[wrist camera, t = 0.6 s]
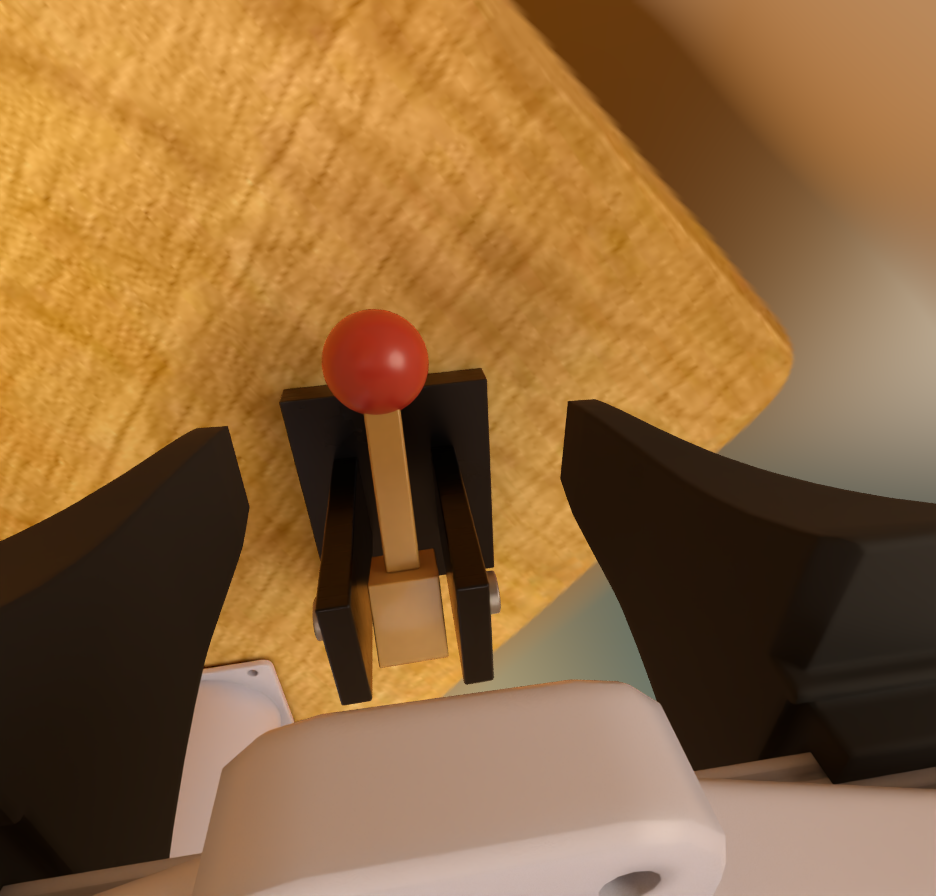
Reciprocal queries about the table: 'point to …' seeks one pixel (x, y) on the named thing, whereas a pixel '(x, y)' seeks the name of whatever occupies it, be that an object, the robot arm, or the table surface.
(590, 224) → the table surface
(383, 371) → the switch lever
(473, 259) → the table surface
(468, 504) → the switch bracket
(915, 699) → the robot arm
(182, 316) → the table surface
